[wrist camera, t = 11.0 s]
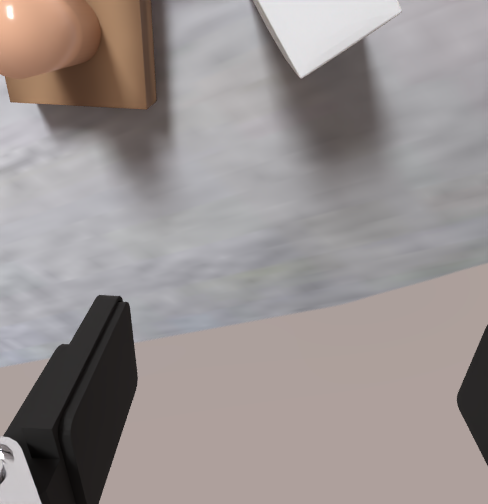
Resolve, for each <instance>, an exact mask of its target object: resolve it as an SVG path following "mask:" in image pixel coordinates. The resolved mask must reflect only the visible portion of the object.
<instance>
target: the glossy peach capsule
mask: <svg viewBox="0 0 488 504" xmlns="http://www.w3.org/2000/svg"><path fill="white" fill-rule="evenodd" d="M100 40H101V30H100V25H99V21H98V19H97V16H96V14H95V13H94V11H93V9H92V8H91V7H90V5H89V4H88V3H87V2H86V1H85V0H0V74H1V75H3V76H6V77H9V78H14V79H24V78H28V77H32V76H36V75H40V74H44V73H47V72H51V71H55V70H59V69H62V68H66V67H70V66H74V65H78V64H81V63H84V62H87V61H88V60H90V59H91V58H92V57H93V56H94V55H95V54H96V52H97V50H98V48H99V45H100Z"/></svg>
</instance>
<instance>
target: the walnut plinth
mask: <svg viewBox="0 0 488 504" xmlns="http://www.w3.org/2000/svg"><path fill="white" fill-rule="evenodd" d="M85 1H86V2H87V3H88V4H89V5H90V7H91V8H92V9H93V11H94V13H95V14H96V16H97V19H98V21H99V25H100V30H101V40H100V45H99V48H98V50H97V52H96V54H95V55H94V56H93V57H92V58H91V59H90V60H88V61H87V62H84V63H81V64H78V65H74V66H70V67H66V68H62V69H59V70H55V71H51V72H47V73H44V74H40V75H36V76H32V77H28V78H24V79H14V78H9V77H6V76H5V79H6V84H7V88H8V93H9V97H10V102H17V103H35V104H54V105H73V106H92V107H111V108H130V109H148V108H149V107H150V106H151V105H153V104H154V103H155V102H156V101H157V99H156V81H155V63H154V45H153V28H152V10H151V0H85Z"/></svg>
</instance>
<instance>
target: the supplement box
mask: <svg viewBox="0 0 488 504" xmlns="http://www.w3.org/2000/svg"><path fill="white" fill-rule="evenodd" d="M253 2H254V4H255V6H256V8H257V10H258V12H259V13H260V15H261V17H262V19H263V21H264V23H265V25H266V27H267V28H268V30H269V32H270V34H271V36H272V37H273V39H274V41H275V42H276V44H277V46H278V48H279V49H280V51H281V53H282V54H283V56H284V58H285V59H286V61H287V62H288V63H289V64H290V66H291V67H292V69H293V70H294V71H295V73H296V74H297V75H298V77H299V78H301V79H302V78H304V77H305V76H307V75H309V74H310V73H312V72H313V71H315V70H316V69H318V68H319V67H321V66H323V65H324V64H326V63H327V62H329V61H330V60H332V59H333V58H335V57H336V56H338V55H339V54H341V53H342V52H344V51H345V50H347V49H348V48H350V47H351V46H353V45H354V44H356V43H357V42H359V41H360V40H362V39H363V38H365V37H366V36H368V35H369V34H371V33H372V32H374V31H375V30H377V29H378V28H380V27H381V26H383V25H384V24H386V23H387V22H388V21H390V20H391V19H393V18H394V17H396V16H397V15H398V14H400V13H401V12H402V10H401V7H400V5H399V3H398V0H253Z"/></svg>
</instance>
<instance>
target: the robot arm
mask: <svg viewBox="0 0 488 504" xmlns="http://www.w3.org/2000/svg"><path fill="white" fill-rule="evenodd" d="M137 379H138V377H137V367H136V358H135V349H134V340H133V331H132V323H131V314H130V306H129V303H128V302H123V300H122V297H120V296H107V295H99V296H97V297H96V299H95V301H94V302H93V304H92V306H91V308H90V309H89V311H88V313H87V314H86V316H85V318H84V320H83V321H82V323H81V325H80V327H79V328H78V330H77V332H76V334H75V335H74V337H73V339H72V341H71V342H70V344H62V345H60V346H58V348H57V349H56V350H55V352H54V353H53V355H52V357H51V358H50V360H49V362H48V363H47V365H46V367H45V368H44V370H43V372H42V373H41V375H40V376H39V378H38V380H37V381H36V383H35V385H34V386H33V388H32V390H31V391H30V393H29V395H28V396H27V398H26V399H25V401H24V403H23V404H22V406H21V408H20V409H19V411H18V413H17V414H16V416H15V418H14V419H13V421H12V422H11V424H10V426H9V427H8V429H7V431H6V432H5V434H4V436H3V437H2V436H0V504H99V500H100V498H101V495H102V491H103V488H104V485H105V482H106V479H107V476H108V473H109V470H110V467H111V464H112V461H113V458H114V455H115V452H116V449H117V446H118V443H119V440H120V437H121V433H122V430H123V427H124V425H125V421H126V419H127V415H128V412H129V409H130V406H131V403H132V400H133V397H134V394H135V391H136V387H137ZM457 403H458V407H459V410H460V412H461V414H462V416H463V418H464V419H465V422H466V423H467V426H468V427H469V430H470V431H471V434H472V436H473V438H474V439H475V441H476V443H477V445H478V447H479V449H480V451H481V453H482V455H483V457H484V459H485V461H486V463H487V465H488V325H487V327H486V329H485V331H484V334H483V336H482V338H481V341H480V343H479V345H478V347H477V350H476V352H475V355H474V357H473V359H472V362H471V364H470V366H469V369H468V371H467V373H466V376H465V378H464V380H463V383H462V385H461V388H460V390H459V392H458V395H457Z"/></svg>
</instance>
